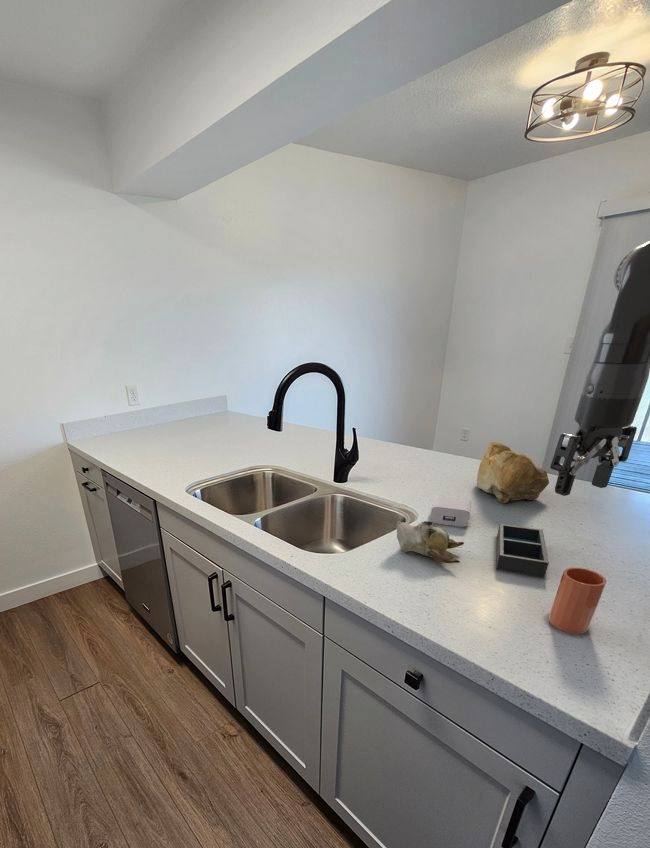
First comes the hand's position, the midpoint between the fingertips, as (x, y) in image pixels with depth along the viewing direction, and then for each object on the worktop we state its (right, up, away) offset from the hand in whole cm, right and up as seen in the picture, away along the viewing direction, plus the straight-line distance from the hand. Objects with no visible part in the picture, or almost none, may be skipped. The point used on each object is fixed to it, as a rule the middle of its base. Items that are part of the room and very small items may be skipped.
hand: (580, 490), depth 75 cm
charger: (-1, -2, +46) cm, 46 cm away
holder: (+5, -12, +25) cm, 28 cm away
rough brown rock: (+22, +4, +55) cm, 60 cm away
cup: (0, -24, +3) cm, 24 cm away
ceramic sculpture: (-15, -12, +27) cm, 34 cm away
